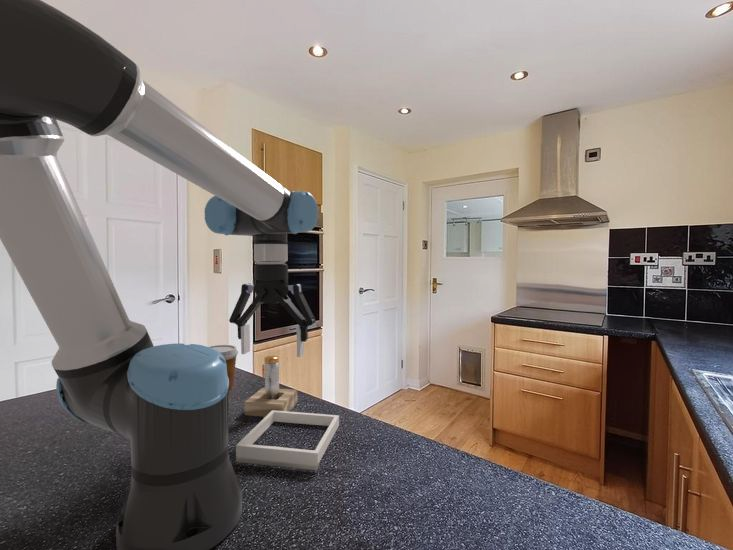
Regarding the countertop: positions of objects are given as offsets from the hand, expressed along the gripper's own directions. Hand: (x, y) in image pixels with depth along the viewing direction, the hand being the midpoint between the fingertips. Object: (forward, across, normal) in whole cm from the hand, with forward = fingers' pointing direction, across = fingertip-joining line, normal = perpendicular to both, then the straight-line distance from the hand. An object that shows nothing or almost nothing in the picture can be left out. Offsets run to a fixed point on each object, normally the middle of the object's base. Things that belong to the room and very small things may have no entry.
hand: (272, 354), depth 84 cm
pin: (+13, 0, 0) cm, 13 cm away
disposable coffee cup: (+14, +19, -8) cm, 25 cm away
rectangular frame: (+14, -10, +14) cm, 22 cm away
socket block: (+14, 0, 0) cm, 14 cm away
